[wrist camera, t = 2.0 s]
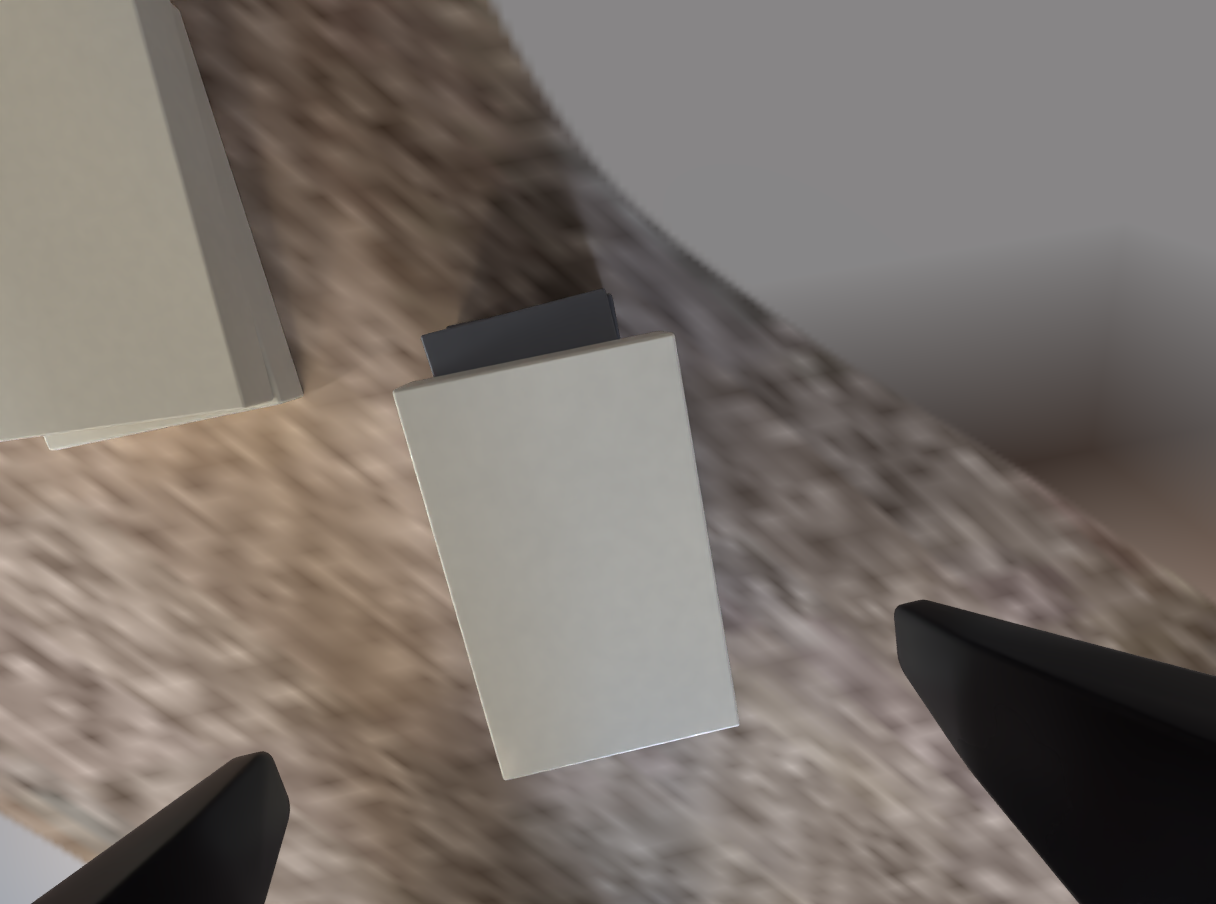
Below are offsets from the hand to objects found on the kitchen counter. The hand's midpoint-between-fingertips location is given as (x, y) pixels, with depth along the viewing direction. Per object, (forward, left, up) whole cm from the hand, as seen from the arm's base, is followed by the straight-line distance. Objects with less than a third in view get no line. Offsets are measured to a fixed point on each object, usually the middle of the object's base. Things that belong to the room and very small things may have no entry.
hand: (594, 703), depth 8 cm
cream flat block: (+9, +9, -9) cm, 15 cm away
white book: (0, 0, -6) cm, 6 cm away
